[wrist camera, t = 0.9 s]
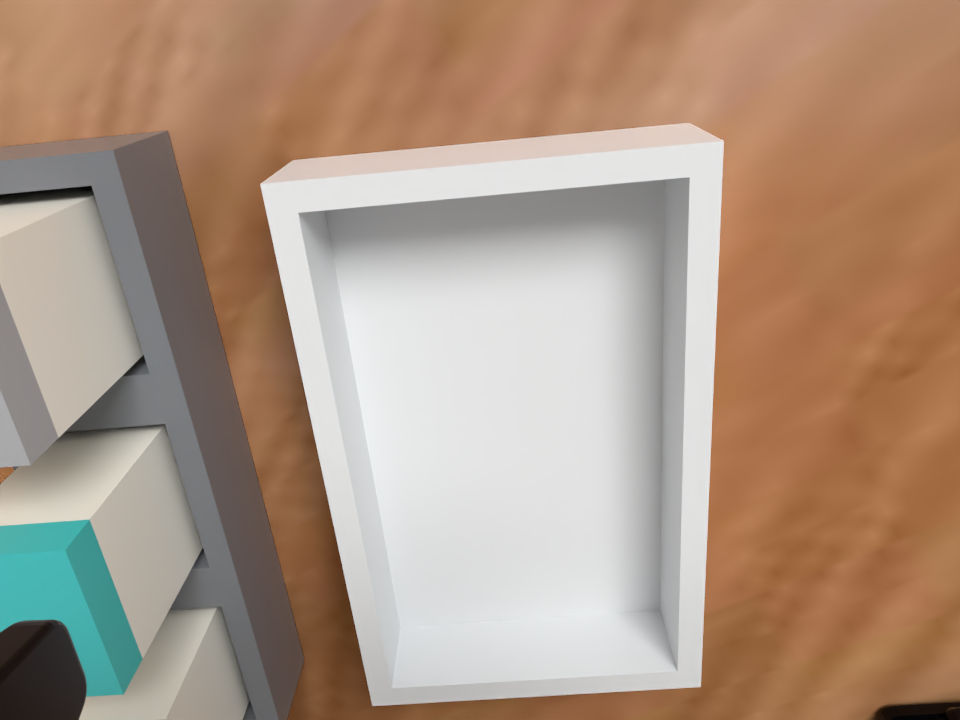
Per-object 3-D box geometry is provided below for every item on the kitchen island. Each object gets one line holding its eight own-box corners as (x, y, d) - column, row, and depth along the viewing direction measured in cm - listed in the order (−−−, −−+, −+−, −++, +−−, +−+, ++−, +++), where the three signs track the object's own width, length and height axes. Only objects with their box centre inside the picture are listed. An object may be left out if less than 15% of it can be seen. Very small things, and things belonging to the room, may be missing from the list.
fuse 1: (173, 325, 20) (30, 465, 14) (67, 334, 20) (-122, 476, 14) (131, 178, 19) (-53, 261, 12) (16, 189, 19) (-224, 276, 12)
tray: (677, 614, 25) (700, 686, 22) (384, 633, 26) (372, 706, 23) (689, 122, 18) (723, 140, 16) (292, 160, 19) (260, 184, 16)
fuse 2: (266, 651, 25) (192, 863, 19) (180, 656, 25) (78, 869, 19) (239, 557, 24) (148, 756, 17) (147, 564, 24) (24, 762, 17)
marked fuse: (225, 506, 23) (123, 694, 16) (130, 513, 23) (-7, 702, 17) (192, 390, 21) (65, 550, 15) (89, 398, 21) (-79, 560, 15)
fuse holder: (304, 659, 26) (282, 734, 23) (165, 668, 26) (128, 743, 24) (167, 130, 19) (112, 150, 16) (-25, 149, 19) (-111, 171, 16)
